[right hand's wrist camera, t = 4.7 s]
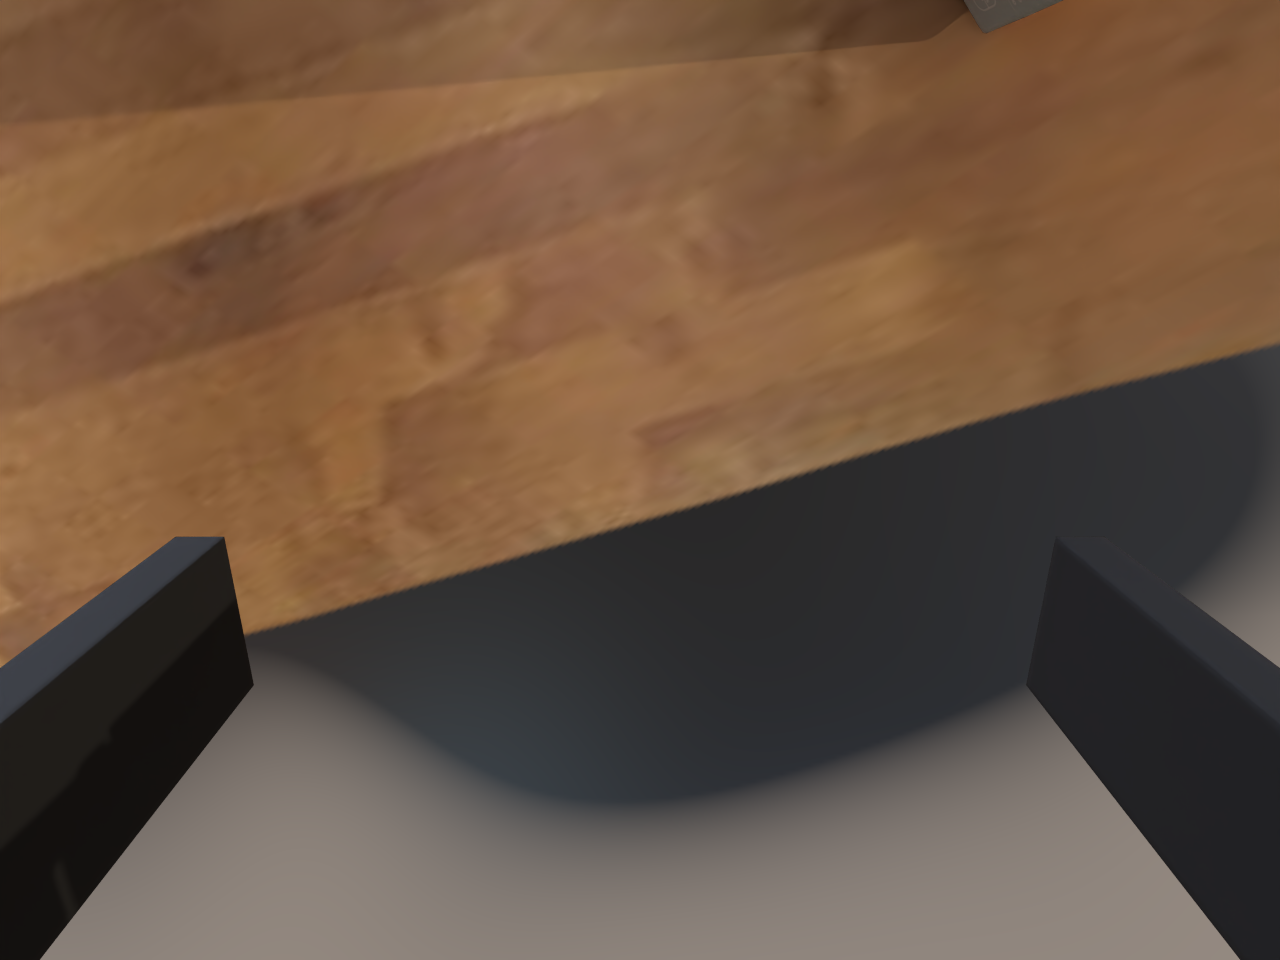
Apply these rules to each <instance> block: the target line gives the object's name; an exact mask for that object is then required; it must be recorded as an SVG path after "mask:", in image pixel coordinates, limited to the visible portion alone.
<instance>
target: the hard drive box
mask: <svg viewBox="0 0 1280 960" xmlns="http://www.w3.org/2000/svg"><path fill="white" fill-rule="evenodd" d="M1060 1H1062V0H964V2H965V4H966V5H967V7H968V9H969V11H970V12H971V14H972V16H973V17H974V19H975V21H976V23H977V24H978V26H979V27H980V29H981V30H982V32H984V33H988V32H990V31H993V30H995V29H997V28H1000V27H1002V26H1005V25H1007V24H1009V23H1012V22H1014V21H1017V20H1019V19H1021V18H1024V17H1026V16H1029V15H1031V14H1033V13H1035V12H1038V11H1040V10H1042V9H1044V8H1047V7H1049V6H1051V5H1053V4H1056V3H1058V2H1060Z"/></svg>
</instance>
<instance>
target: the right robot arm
mask: <svg viewBox="0 0 1280 960" xmlns="http://www.w3.org/2000/svg"><path fill="white" fill-rule="evenodd" d="M253 685H254V684H253V679H252V674H251V669H250V664H249V659H248V654H247V649H246V644H245V639H244V634H243V629H242V624H241V619H240V614H239V609H238V604H237V599H236V594H235V589H234V584H233V579H232V574H231V569H230V564H229V559H228V554H227V549H226V544H225V539H224V537H175V538H173V539H172V540H171V541H169V542H168V543H167V544H165V545H164V546H163V547H161V548H160V549H159V550H157V551H156V552H155V553H153V554H152V555H151V556H149V557H148V558H147V559H145V560H144V561H143V562H141V563H140V564H139V565H137V566H136V567H135V568H133V569H132V570H131V571H129V572H128V573H127V574H125V575H124V576H123V577H121V578H120V579H119V580H117V581H116V582H115V583H113V584H112V585H111V586H109V587H108V588H107V589H105V590H104V591H103V592H101V593H100V594H99V595H97V596H96V597H95V598H93V599H92V600H91V601H89V602H88V603H87V604H85V605H84V606H83V607H81V608H80V609H79V610H77V611H76V612H75V613H73V614H72V615H71V616H69V617H68V618H66V619H65V620H64V621H62V622H61V623H60V624H58V625H57V626H56V627H54V628H53V629H52V630H50V631H49V632H48V633H46V634H45V635H44V636H42V637H41V638H40V639H38V640H37V641H36V642H34V643H33V644H32V645H30V646H29V647H28V648H26V649H25V650H24V651H22V652H21V653H20V654H18V655H17V656H16V657H14V658H13V659H12V660H10V661H9V662H8V663H6V664H5V665H4V666H2V667H1V668H0V960H40V959H41V957H42V956H43V955H44V954H45V952H46V951H47V950H48V948H49V947H50V946H51V945H52V943H53V942H54V941H55V939H56V938H57V937H58V936H59V934H60V933H61V932H62V931H63V929H64V928H65V927H66V925H67V924H68V923H69V922H70V920H71V919H72V918H73V916H74V915H75V914H76V913H77V911H78V910H79V909H80V907H81V906H82V905H83V903H84V902H85V901H86V900H87V898H88V897H89V896H90V895H91V893H92V892H93V891H94V889H95V888H96V887H97V886H98V884H99V883H100V882H101V880H102V879H103V878H104V877H105V875H106V874H107V873H108V871H109V870H110V869H111V868H112V866H113V865H114V864H115V862H116V861H117V860H118V859H119V857H120V856H121V855H122V853H123V852H124V851H125V850H126V848H127V847H128V846H129V844H130V843H131V842H132V841H133V839H134V838H135V837H136V835H137V834H138V833H139V832H140V830H141V829H142V828H143V827H144V825H145V824H146V823H147V821H148V820H149V819H150V818H151V816H152V815H153V814H154V812H155V811H156V810H157V809H158V807H159V806H160V805H161V803H162V802H163V801H164V800H165V798H166V797H167V796H168V794H169V793H170V792H171V791H172V789H173V788H174V787H175V785H176V784H177V783H178V782H179V780H180V779H181V778H182V776H183V775H184V774H185V773H186V771H187V770H188V769H189V767H190V766H191V765H192V764H193V762H194V761H195V760H196V759H197V757H198V756H199V755H200V753H201V752H202V751H203V750H204V748H205V747H206V746H207V744H208V743H209V742H210V741H211V739H212V738H213V737H214V735H215V734H216V733H217V731H218V730H219V729H220V728H221V726H222V725H223V724H224V723H225V721H226V720H227V719H228V717H229V716H230V715H231V714H232V712H233V711H234V710H235V708H236V707H237V706H238V705H239V703H240V702H241V701H242V699H243V698H244V697H245V696H246V694H247V693H248V692H249V690H250V689H251V688H252V687H253ZM1026 685H1027V687H1028V688H1029V689H1030V690H1031V692H1032V693H1033V694H1034V696H1035V697H1036V698H1037V699H1038V701H1039V702H1040V703H1041V705H1042V706H1043V707H1044V708H1045V710H1046V711H1047V712H1048V714H1049V715H1050V716H1051V717H1052V719H1053V720H1054V721H1055V723H1056V724H1057V725H1058V726H1059V728H1060V729H1061V730H1062V732H1063V733H1064V734H1065V735H1066V737H1067V738H1068V739H1069V741H1070V742H1071V743H1072V744H1073V746H1074V747H1075V748H1076V749H1077V751H1078V752H1079V753H1080V755H1081V756H1082V757H1083V759H1084V760H1085V761H1086V762H1087V764H1088V765H1089V766H1090V767H1091V769H1092V770H1093V771H1094V773H1095V774H1096V775H1097V776H1098V778H1099V779H1100V780H1101V782H1102V783H1103V784H1104V785H1105V787H1106V788H1107V789H1108V791H1109V792H1110V793H1111V794H1112V796H1113V797H1114V798H1115V799H1116V801H1117V802H1118V803H1119V805H1120V806H1121V807H1122V809H1123V810H1124V811H1125V812H1126V814H1127V815H1128V816H1129V818H1130V819H1131V820H1132V821H1133V823H1134V824H1135V825H1136V826H1137V828H1138V829H1139V830H1140V832H1141V833H1142V834H1143V836H1144V837H1145V838H1146V839H1147V841H1148V842H1149V843H1150V844H1151V846H1152V847H1153V848H1154V850H1155V851H1156V852H1157V853H1158V855H1159V856H1160V857H1161V859H1162V860H1163V861H1164V862H1165V864H1166V865H1167V866H1168V868H1169V869H1170V870H1171V871H1172V873H1173V874H1174V875H1175V877H1176V878H1177V879H1178V880H1179V882H1180V883H1181V884H1182V886H1183V887H1184V888H1185V889H1186V891H1187V892H1188V893H1189V895H1190V896H1191V897H1192V898H1193V900H1194V901H1195V902H1196V903H1197V905H1198V906H1199V907H1200V909H1201V910H1202V911H1203V913H1204V914H1205V915H1206V916H1207V918H1208V919H1209V920H1210V921H1211V923H1212V924H1213V925H1214V927H1215V928H1216V929H1217V930H1218V932H1219V933H1220V934H1221V936H1222V937H1223V938H1224V939H1225V941H1226V942H1227V943H1228V945H1229V946H1230V947H1231V948H1232V950H1233V951H1234V952H1235V954H1236V955H1237V956H1238V957H1239V959H1240V960H1280V668H1279V667H1278V666H1276V665H1275V664H1274V663H1272V662H1271V661H1270V660H1268V659H1267V658H1266V657H1264V656H1263V655H1262V654H1260V653H1259V652H1258V651H1256V650H1255V649H1254V648H1252V647H1251V646H1250V645H1248V644H1247V643H1246V642H1244V641H1243V640H1241V639H1240V638H1239V637H1238V636H1236V635H1235V634H1234V633H1232V632H1231V631H1229V630H1228V629H1227V628H1226V627H1224V626H1223V625H1221V624H1220V623H1219V622H1218V621H1216V620H1215V619H1213V618H1212V617H1211V616H1209V615H1208V614H1207V613H1205V612H1204V611H1203V610H1201V609H1200V608H1199V607H1197V606H1196V605H1195V604H1193V603H1192V602H1191V601H1189V600H1188V599H1187V598H1185V597H1184V596H1183V595H1181V594H1180V593H1179V592H1177V591H1176V590H1175V589H1173V588H1172V587H1171V586H1169V585H1168V584H1167V583H1165V582H1164V581H1163V580H1161V579H1160V578H1159V577H1157V576H1156V575H1155V574H1153V573H1152V572H1151V571H1149V570H1148V569H1147V568H1145V567H1144V566H1143V565H1141V564H1140V563H1139V562H1137V561H1136V560H1135V559H1133V558H1132V557H1131V556H1129V555H1128V554H1127V553H1125V552H1124V551H1123V550H1121V549H1120V548H1119V547H1117V546H1116V545H1115V544H1113V543H1112V542H1111V541H1109V540H1108V539H1107V538H1105V537H1056V539H1055V544H1054V549H1053V554H1052V559H1051V564H1050V569H1049V574H1048V579H1047V584H1046V589H1045V594H1044V599H1043V604H1042V609H1041V614H1040V619H1039V624H1038V629H1037V634H1036V639H1035V644H1034V649H1033V654H1032V659H1031V664H1030V669H1029V674H1028V679H1027V684H1026Z"/></svg>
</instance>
